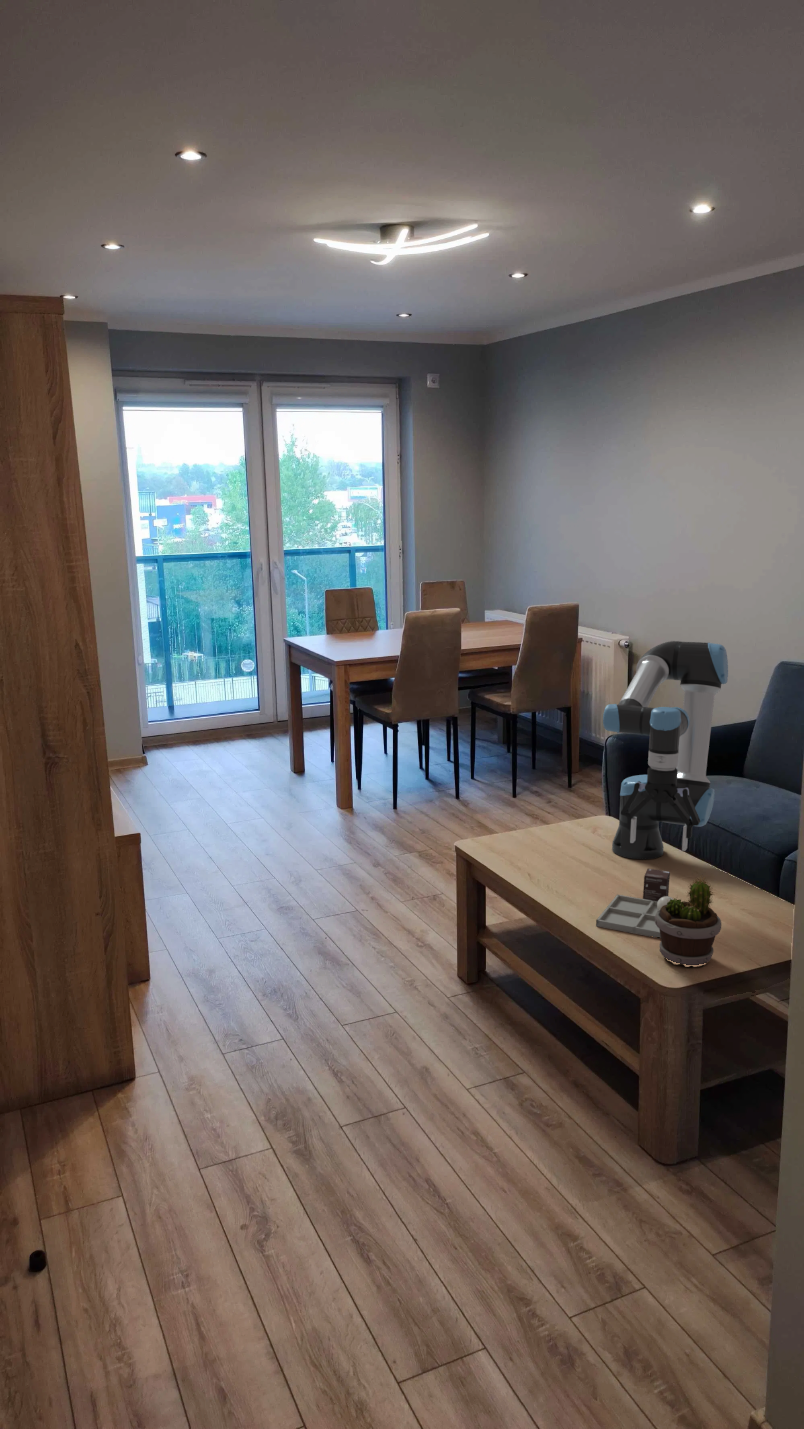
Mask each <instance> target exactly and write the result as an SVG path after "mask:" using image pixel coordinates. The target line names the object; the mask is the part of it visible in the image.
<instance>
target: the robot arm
mask: <svg viewBox="0 0 804 1429" xmlns="http://www.w3.org/2000/svg"><path fill="white" fill-rule="evenodd" d="M728 660H729V659H728V655H727V649H726V648H725V646H724V645H722V644H720V643H713V642H699V641H698V642H697V641H679V640H671V641H666V642H663V643H660V644H657V645H655V646H654V647H652V648H650V649H649V650H647V651H646V652H645V653H644V654H643V655H642V656H641V657H640V658H639V660H638V661H637V664H636V668H635V669H636V672H635V674H634V676H633V678H632V680H631V681H630V683H629V685H628V687H627V688H626V690H625V692H624V694H623V695H622V697H621V699H620V701H619V702H618V704H617V703H613V704H612V703H609V704H607V705H605V707H604V711H603V715H602V723H603V724H602V725H603V728H604V730H605V731H606V732H607V731H608V732H612V733H616V734H619V733H620V734H631V735H632V734H633V735H643V736H649V741H648V742H649V744H648V758H647V760H648V761H647V764H648V768H647V774H639V775H632V776H628V777H626V778H625V779H623V780H622V782H621V784H620V793H619V796H620V797H619V798H620V799H619V820H618V821H619V822H618V828H617V830H616V833H615V835H614V837H613V840H612V843H611V844H612V846H611V850H612V852H613V853H614V854H615V855H617V856H620V857H623V858H625V859H627V858H628V859H632V860H633V859H634V860H653V859H654V860H655V859H658V858H659V857H662V856H663V855H664V843H663V839H662V836H661V832H660V828H659V827H660V822H661V823H667V824H673V825H674V824H675V825H682V826H683V827H682V828H683V829H682V843H681V851H682V852H686V850H687V849H688V841H689V840H688V839H691V838H692V836H693V827H703V826H705V825H707V823H708V821H709V819H710V817H711V813H712V810H713V807H714V803H715V796H716V790H715V789H714V788H712V787H711V781H710V780H709V779H708V777H707V767H708V756H709V750H710V747H709V746H710V739H711V731H712V720H713V712H714V703H715V696H716V694H718V693H719V692H720V691H721V690H722V685H727V683H728V678H729V661H728ZM666 680H670V681H671V680H674V681H679V682H680V684H679V687H680V688H681V689H682V691H683V693H684V695H683V705H682V707H678V706H673V707H671V706H659V707H658V706H657V707H649V706H650V704H651V701H652V700H653V698H654V696H655V694H656V692H657V690H658V689H659V686H660V685H661V684H663V683H664V682H665V681H666Z"/></svg>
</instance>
